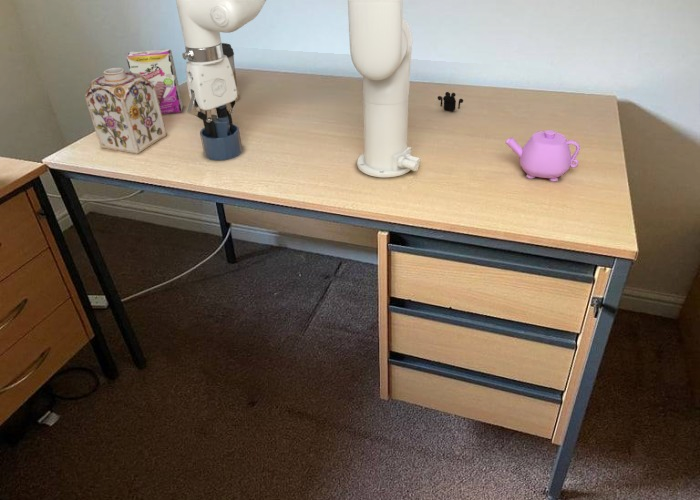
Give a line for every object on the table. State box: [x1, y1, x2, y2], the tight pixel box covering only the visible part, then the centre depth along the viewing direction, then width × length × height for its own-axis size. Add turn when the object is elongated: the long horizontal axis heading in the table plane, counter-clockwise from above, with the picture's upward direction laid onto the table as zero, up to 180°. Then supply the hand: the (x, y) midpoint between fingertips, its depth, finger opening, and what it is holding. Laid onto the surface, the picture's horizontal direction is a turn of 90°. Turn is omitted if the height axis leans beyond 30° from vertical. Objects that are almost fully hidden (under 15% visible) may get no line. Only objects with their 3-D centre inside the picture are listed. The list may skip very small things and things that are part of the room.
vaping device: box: [210, 104, 231, 138], centre depth 125 cm, size 3×5×12 cm, turn 79°
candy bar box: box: [125, 48, 184, 115], centre depth 147 cm, size 11×5×16 cm, turn 100°
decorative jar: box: [84, 67, 167, 154], centre depth 131 cm, size 12×12×18 cm
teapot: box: [505, 129, 581, 182], centre depth 113 cm, size 10×15×9 cm
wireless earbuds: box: [437, 91, 464, 112], centre depth 143 cm, size 7×2×5 cm, turn 64°
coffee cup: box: [221, 42, 238, 89], centre depth 154 cm, size 8×8×15 cm
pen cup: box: [199, 123, 243, 162], centre depth 127 cm, size 9×9×6 cm
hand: (220, 132), depth 126 cm, fingers closed on vaping device, 4 cm apart
